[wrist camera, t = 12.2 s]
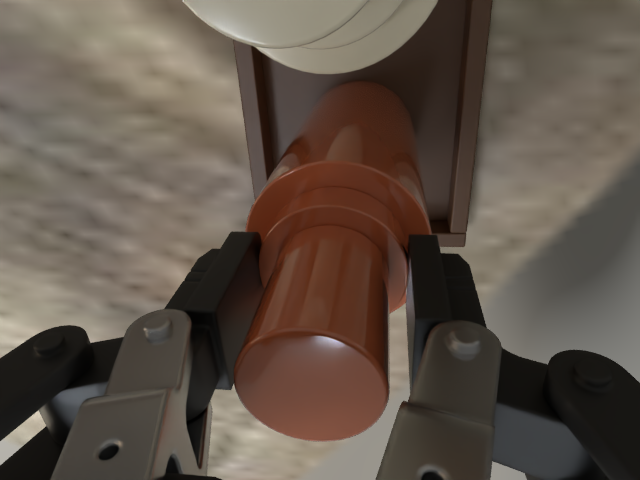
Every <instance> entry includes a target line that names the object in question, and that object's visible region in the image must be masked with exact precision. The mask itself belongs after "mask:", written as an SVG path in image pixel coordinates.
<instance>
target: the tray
mask: <svg viewBox="0 0 640 480" xmlns="http://www.w3.org/2000/svg"><path fill="white" fill-rule="evenodd" d="M491 9H492V0H438V2H437V4H436V6H435V7H434V9H433V11H432V12H431V14H430V15H429V17H428V18H427V20H426V21H425V22H424V24H423V25H422V26H421V27H420V28H419V30H418V31H417V32H416V33H415V34H414V35H413V36H412V37H411V38H410V39H409V40H408V41H407V42H406V43H405V44H404V45H403V46H402V47H400V48H399V49H398V50H396V51H395V52H394V53H392V54H391V55H389V56H388V57H386V58H384V59H382V60H381V61H379V62H377V63H375V64H373V65H370V66H368V67H365V68H363V69H360V70H356V71H352V72H348V73H341V74H313V73H308V72H302V71H299V70H296V69H292V68H289V67H287V66H285V65H282V64H280V63H278V62H276V61H274V60H272V59H271V58H269V57H268V56H266V55H265V54H263V53H261V52H260V51H259V50H258V49H257V48H255V47H254V46H251V45H247V44H244V43H241V42H238V41H235V40H233V42H234V49H235V57H236V64H237V72H238V79H239V86H240V94H241V101H242V109H243V116H244V123H245V131H246V138H247V146H248V153H249V160H250V168H251V175H252V183H253V190H254V197H255V200H256V199H257V197H258V195H259V194H260V192H261V190H262V189H263V187H264V185H265V184H266V182H267V180H268V179H269V177H270V175H271V174H272V172H273V171H274V169H275V167H276V166H277V164H278V162H279V161H280V159H281V157H282V156H283V154H284V152H285V151H286V149H287V147H288V146H289V144H290V142H291V141H292V139H293V137H294V136H295V134H296V133H297V131H298V129H299V128H300V126H301V124H302V123H303V121H304V119H305V118H306V116H307V114H308V113H309V111H310V109H311V108H312V106H313V105H314V103H315V102H316V101H317V99H318V98H319V97H320V96H321V95H322V94H324V93H325V92H326V91H328V90H329V89H331V88H332V87H334V86H336V85H339V84H341V83H345V82H349V81H370V82H374V83H377V84H380V85H382V86H385V87H387V88H388V89H390V90H391V91H393V92H394V93H395V94H396V95H397V96H399V97H400V99H401V100H402V101H403V102H404V103H405V105H406V107H407V108H408V110H409V112H410V114H411V117H412V120H413V124H414V130H415V136H416V142H417V148H418V154H419V160H420V166H421V172H422V178H423V184H424V190H425V196H426V202H427V208H428V214H429V220H430V226H431V232H432V235H437V237H438V242H439V246H440V247H464V246H465V241H466V231H467V223H468V214H469V205H470V196H471V188H472V179H473V170H474V161H475V152H476V143H477V134H478V125H479V116H480V107H481V98H482V89H483V80H484V72H485V63H486V54H487V45H488V36H489V27H490V18H491Z"/></svg>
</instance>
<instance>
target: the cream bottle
mask: <svg viewBox="0 0 640 480" xmlns="http://www.w3.org/2000/svg"><path fill="white" fill-rule="evenodd" d="M182 1H183V2H184V3H185V4H186V5H187V6H188V7H189V8H190V10H191V11H192V12H193V13H194V14H195V15H196V16H198V17H199V18H200V19H201V20H202V21H204V22H205V23H206V24H207V25H209V26H210V27H212V28H213V29H215V30H216V31H218V32H220V33H221V34H223V35H225V36H227V37H229V38H231V39H233V40H235V41H238V42H241V43H244V44H247V45H251V46H254V47H255V48H257V49H258V50H259V51H260V52H261V53H263V54H265V55H266V56H268V57H269V58H271V59H272V60H274V61H276V62H278V63H280V64H282V65H285V66H287V67H289V68H292V69H296V70H299V71H302V72H308V73H313V74H341V73H348V72H352V71H356V70H360V69H363V68H365V67H368V66H370V65H373V64H375V63H377V62H379V61H381V60H382V59H384V58H386V57H388V56H389V55H391V54H392V53H394V52H395V51H396V50H398V49H399V48H400V47H402V46H403V45H404V44H405V43H406V42H407V41H408V40H409V39H410V38H411V37H412V36H413V35H414V34H415V33H416V32H417V31H418V30H419V28H420V27H421V26H422V25H423V24H424V22H425V21H426V20H427V18H428V17H429V15H430V14H431V12H432V11H433V9H434V7H435V6H436V4H437V2H438V0H182Z"/></svg>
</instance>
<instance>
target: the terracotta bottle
mask: <svg viewBox="0 0 640 480" xmlns="http://www.w3.org/2000/svg"><path fill="white" fill-rule="evenodd" d="M245 232H259V234H260V236H261V240H262V245H261V249H260V253H259V271H260V278H261V282H262V285H263V287H264V291H263V294H262V296H261V299H260V301H259V304H258V306H257V309H256V311H255V314H254V316H253V319H252V321H251V324H250V326H249V329H248V331H247V334H246V336H245V339H244V341H243V344H242V346H241V349H240V351H239V354H238V356H237V358H236V361H235V365H234V372H233V377H234V385H235V389H236V392H237V394H238V397H239V399H240V401H241V402H242V404H243V405H244V407H245V408H246V409H247V410H248V411H249V412H250V413H251V414H252V415H253V416H254V417H255V418H256V419H257V420H259V421H260V422H261V423H263V424H264V425H266V426H267V427H269V428H271V429H273V430H275V431H277V432H279V433H281V434H284V435H286V436H290V437H293V438H297V439H302V440H308V441H320V442H325V441H336V440H342V439H346V438H350V437H353V436H355V435H358V434H360V433H362V432H364V431H365V430H367V429H368V428H370V427H371V426H372V425H373V424H374V423H375V422H377V420H378V419H379V418H380V417H381V415H382V414H383V412H384V410H385V408H386V406H387V403H388V400H389V314H390V313H391V312H393V311H395V310H396V309H398V308H399V307H401V306H402V305H403V304H405V303H406V288H407V280H408V236H409V234H421V235H432V232H431V226H430V220H429V214H428V208H427V202H426V196H425V190H424V184H423V178H422V172H421V166H420V160H419V154H418V148H417V142H416V136H415V130H414V124H413V120H412V117H411V114H410V112H409V110H408V108H407V107H406V105H405V103H404V102H403V101H402V100H401V99H400V97H399V96H397V95H396V94H395V93H394V92H393V91H391V90H390V89H388V88H387V87H385V86H382V85H380V84H377V83H374V82H370V81H349V82H345V83H341V84H339V85H336V86H334V87H332V88H331V89H329V90H328V91H326V92H325V93H324V94H322V95H321V96H320V97H319V98H318V99H317V101H316V102H315V103H314V105H313V106H312V108H311V109H310V111H309V113H308V114H307V116H306V118H305V119H304V121H303V123H302V124H301V126H300V128H299V129H298V131H297V133H296V134H295V136H294V137H293V139H292V141H291V142H290V144H289V146H288V147H287V149H286V151H285V152H284V154H283V156H282V157H281V159H280V161H279V162H278V164H277V166H276V167H275V169H274V171H273V172H272V174H271V175H270V177H269V179H268V180H267V182H266V184H265V185H264V187H263V189H262V190H261V192H260V194H259V195H258V197H257V199H256V200H255V202H254V204H253V206H252V208H251V210H250V213H249V215H248V219H247V223H246V230H245Z"/></svg>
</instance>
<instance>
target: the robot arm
mask: <svg viewBox="0 0 640 480" xmlns="http://www.w3.org/2000/svg"><path fill="white" fill-rule="evenodd" d="M261 245H262V240H261V236H260V234H259V232H231V233H230V234H229V236H228V237H227V239H226V240H225V242H224V244H223V245H222V247H221V248H220V249H211V250H210V251H209V252H207V253H206V254H204V255H203V256H201V257H200V258H199V259H198V260H197V262H196V263H195V265H194V266H193V267H192V269H191V272H189V273H188V275H187V276H186V278H185V281H183V282H182V284H181V285H180V287H179V288H178V290H177V291H176V292H175V294H174V295H173V297H172V298H171V300H170V301H169V303H168V304H167V306H166V307H165V309H163V310H157V311H154V312H151V313H148V314H146V315H144V316H142V317H140V318H138V319H137V320H136V321H134V322H133V323H132V324H131V325H130V326H129V328H128V329H127V331H126V333H125V336H124V337H121V338H116V339H111V340H105V341H100V342H94V343H90V341H89V338H88V336H87V333H86V331H85V330H84V329H83V328H81V327H78V326H71V325H67V326H59V327H54V328H51V329H48V330H45V331H43V332H41V333H39V334H37V335H35V336H33V337H32V338H30V339H29V340H27V341H26V342H24V343H23V344H21V345H20V346H18V347H17V348H15V349H14V350H12V351H11V352H9V353H8V354H6V355H5V356H3V357H2V358H0V441H1V440H2V439H3V438H5V437H6V436H7V435H8V434H10V433H11V432H12V431H13V430H14V429H16V428H17V427H18V426H19V425H21V424H22V423H23V422H24V421H26V420H27V419H28V418H29V417H30V416H32V415H33V414H34V413H35V412H37V411H38V410H39V412H40V414H41V416H42V418H43V420H44V422H45V424H46V427H45V428H44V429H42V430H41V431H40V432H39V433H38V434H37V435H35V436H34V437H33V438H32V439H31V440H30V441H28V442H27V443H26V444H25V445H24V446H23V447H21V448H20V449H19V450H18V451H17V452H16V453H14V454H13V455H12V456H11V457H10V458H9V459H7V460H6V461H5V462H4V463H3V464H2V465H0V480H222V479H219V478H216V477H209V476H207V469H208V458H209V446H210V434H211V423H212V406H211V402H210V400H211V397H212V395H213V393H214V390H215V389H223V390H231V389H232V386H233V384H234V377H233V372H234V365H235V361H236V358H237V356H238V354H239V351H240V349H241V346H242V344H243V341H244V339H245V336H246V334H247V331H248V329H249V326H250V324H251V321H252V319H253V316H254V314H255V311H256V309H257V306H258V304H259V301H260V299H261V296H262V294H263V291H264V287H263V285H262V282H261V278H260V271H259V253H260V249H261ZM406 315H407V336H408V357H409V378H410V397H409V400H408V402H406V401H403V402H402V403H401V405H400V408H399V410H398V413H397V416H396V419H395V422H394V425H393V428H392V431H391V434H390V438H389V441H388V443H387V447H386V450H385V453H384V456H383V459H382V462H381V465H380V468H379V471H378V474H377V477H376V480H490V477H491V468H492V461H494V462H497V463H499V464H502V465H505V466H508V467H510V468H513V469H515V470H518V471H521V472H523V473H525V475H526V478H527V480H640V383H639V382H638V381H637V380H636V379H635V378H634V377H633V376H632V375H631V374H630V373H628V372H627V371H626V370H625V369H624V368H623V367H622V366H620V365H619V364H617V363H616V362H614V361H612V360H611V359H609V358H607V357H604V356H602V355H599V354H596V353H593V352H588V351H583V350H568V351H563V352H560V353H557V354H555V355H554V356H553V357H552V358H551V359H550V361H549V363H548V365H547V364H543V363H540V362H536V361H533V360H529V359H525V358H522V357H519V356H517V355H514V354H512V353H510V352H508V351H506V350H505V349H503V348H502V346H501V343H500V341H499V339H498V338H497V336H496V335H495V334H494V333H493V332H491V331H490V330H489V329H487V327H486V324H485V320H484V317H483V313H482V309H481V306H480V302H479V298H478V295H477V291H476V288H475V284H474V280H473V277H472V273H471V269H470V266H469V264H468V263H467V262H466V261H465V260H464V259H463V258H462V257H461V256H460V255H459V254H445V253H440V247H439V242H438V237H437V235H421V234H409V236H408V280H407V288H406Z"/></svg>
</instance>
